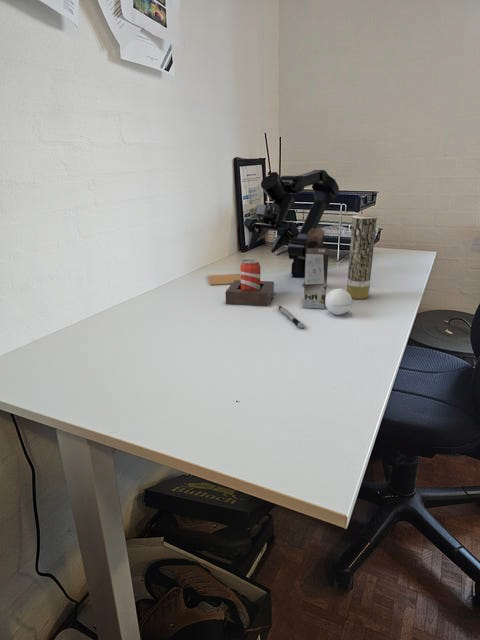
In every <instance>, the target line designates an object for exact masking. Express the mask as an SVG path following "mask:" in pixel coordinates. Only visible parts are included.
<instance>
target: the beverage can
mask: <svg viewBox="0 0 480 640" xmlns="http://www.w3.org/2000/svg"><path fill="white" fill-rule="evenodd" d="M240 275H241V289H242V290H260V281H261V264H260V262H259V260H258V259H256V258H255V259H253V258H250V259H249V258H247V259H243V260H242V261H241V264H240Z"/></svg>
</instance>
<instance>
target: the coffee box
mask: <svg viewBox="0 0 480 640" xmlns="http://www.w3.org/2000/svg"><path fill="white" fill-rule="evenodd" d="M329 255H330V254H329V248H328V247H323V248H307V251H306V261H305V277H304V282H305V284H304V283H303V285H304V286H303V306H302V307H303V308H306V309H323V310H324V309H325V308H326V305H325V299H326V296H327V284H328V270H329Z"/></svg>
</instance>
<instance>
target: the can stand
mask: <svg viewBox="0 0 480 640" xmlns="http://www.w3.org/2000/svg"><path fill="white" fill-rule="evenodd" d="M274 290H275V281H274V280H273V281H272V280H271V281H269V280H260V290H242V289H241V280H234V282H233V283H232V284H229V286H228V288H226V290H225V304H226V305H237V306H256V307H257V306H259V307H269V305H270V303H271V301H272V298H273V296H274V293H275V291H274Z"/></svg>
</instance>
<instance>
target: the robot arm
mask: <svg viewBox="0 0 480 640" xmlns="http://www.w3.org/2000/svg"><path fill="white" fill-rule="evenodd" d="M310 186H311V189H312V190H313V198H314V201H313V203H312V205H311V207H310V208H309V209H310V210H309V212H308V214H307V215H306V218H305V220H304V223H303V224H302V226H301V229H300V230H299V229H298V227H297V226H296V224H295V222H294V221H290V220H288V216H287V214H288V212H289V210H290V208H291V207H295V206H296V202H295V199H294V197H293V196H292V195H299V194H300V193H302V192H303V191H304V190H305V188H306V187H310ZM260 188H261V189H262V190H263V192H264V193H265V195H266V196H267V197H268V199H269V200H271V201H272V203H271V205H268V204H256V209H255V213H254V215H255V216H258V217H260V221H261V222H260V221H259V220H258V219H257V218H254V217H246V218H245V219H244V221H243V226H244V227H245V229H246V230H247V231H248V242H247V248H248V250H252V248H253V247H254V246H255V244H256V243H257V241H258V240H259V238H260V237H261V235H260V234H262V232H263V230H264V231H272V232H277V235H276V237H275V239H274V242H273V244H272V246H271V250H270V252H271V253H272V254H274V253H275V252H276V251H278V250H279V249H280V248H281V247H282V246H284V245H285V244H287V243H288V242H289V243H288V244H287V255H288V259H289V260H292V263H291V277H292V278H305V261H306V248H305V247H306V241H307V236H308V232H309V231H310V230H311V229H315V228H318V226H319V224H320V222H321V220H322V217H323V215H324V213H325V211H326V208H327V206H328V205H330V204H331V203H333V202H334V201H335V200H336V198H337V196H338V194H339V192H340V187H339V185H338V183H337V180H336V179H335V178H334V177H332V176H330V175H329V174H328V172H327V171H326V170H324V169H313V170H312V171H308V172H305V173H302V174H299V175H282V176H281V177H280V176H279V173H278V172H277V171H271V172H270V174H268V175H267V176H266V177H264V178H263V179H262V180H261V182H260Z"/></svg>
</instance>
